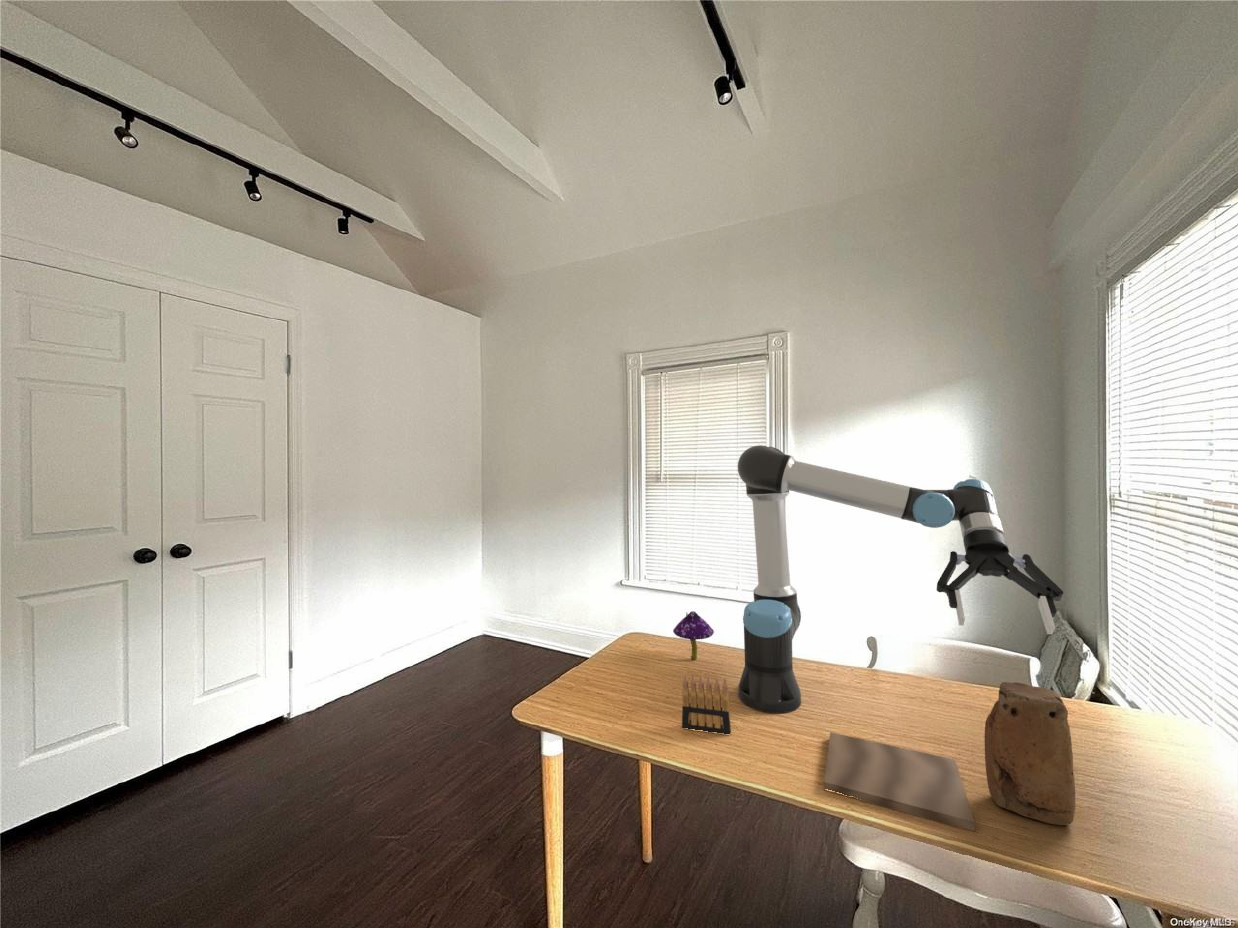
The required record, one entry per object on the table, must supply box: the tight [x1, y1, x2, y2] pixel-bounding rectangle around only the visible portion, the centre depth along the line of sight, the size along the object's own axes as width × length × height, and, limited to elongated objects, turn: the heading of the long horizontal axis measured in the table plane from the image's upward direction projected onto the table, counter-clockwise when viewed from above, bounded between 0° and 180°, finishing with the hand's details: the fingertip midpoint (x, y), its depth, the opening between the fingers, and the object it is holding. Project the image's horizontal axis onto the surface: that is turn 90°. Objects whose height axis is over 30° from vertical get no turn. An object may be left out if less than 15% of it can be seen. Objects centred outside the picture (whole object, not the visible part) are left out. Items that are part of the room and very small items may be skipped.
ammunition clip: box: [681, 673, 732, 734], centre depth 105 cm, size 11×2×12 cm, turn 73°
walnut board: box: [823, 732, 976, 832], centre depth 87 cm, size 22×18×2 cm
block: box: [984, 681, 1076, 826], centre depth 79 cm, size 11×8×20 cm
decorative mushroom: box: [672, 610, 715, 661], centre depth 144 cm, size 12×12×15 cm
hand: (1005, 626), depth 90 cm, fingers open, 13 cm apart
